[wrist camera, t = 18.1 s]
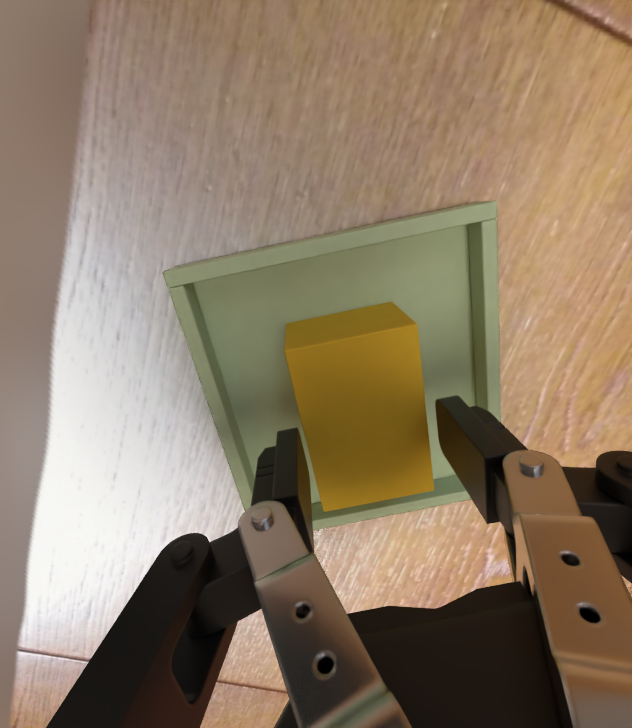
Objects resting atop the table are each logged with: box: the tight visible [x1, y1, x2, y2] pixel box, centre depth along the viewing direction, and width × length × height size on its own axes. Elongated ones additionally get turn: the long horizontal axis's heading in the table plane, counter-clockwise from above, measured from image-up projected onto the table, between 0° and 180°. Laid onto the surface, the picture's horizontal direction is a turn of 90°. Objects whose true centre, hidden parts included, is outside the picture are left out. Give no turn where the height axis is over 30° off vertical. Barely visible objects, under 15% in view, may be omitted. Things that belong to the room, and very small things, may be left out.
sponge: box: [284, 302, 434, 512], centre depth 15 cm, size 7×4×4 cm, turn 11°
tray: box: [163, 201, 501, 530], centre depth 17 cm, size 13×12×2 cm
